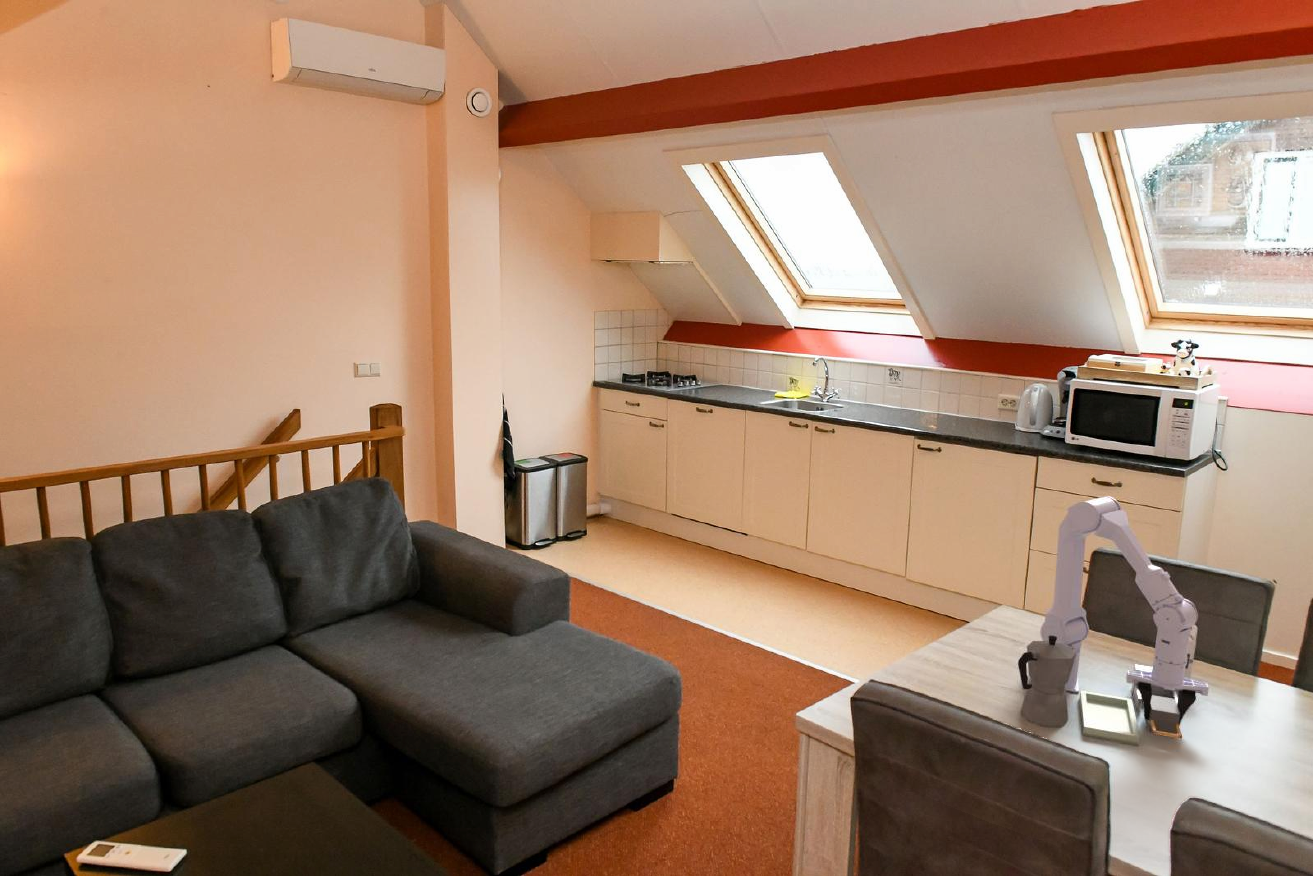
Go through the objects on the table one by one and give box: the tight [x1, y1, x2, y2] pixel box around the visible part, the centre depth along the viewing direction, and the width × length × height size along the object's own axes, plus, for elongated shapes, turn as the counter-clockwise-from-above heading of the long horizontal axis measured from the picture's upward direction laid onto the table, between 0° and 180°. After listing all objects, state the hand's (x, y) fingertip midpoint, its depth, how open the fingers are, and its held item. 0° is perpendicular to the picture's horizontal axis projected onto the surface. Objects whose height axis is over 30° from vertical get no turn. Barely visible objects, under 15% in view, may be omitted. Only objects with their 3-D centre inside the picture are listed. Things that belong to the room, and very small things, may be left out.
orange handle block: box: [1145, 695, 1183, 740], centre depth 188 cm, size 5×12×5 cm, turn 158°
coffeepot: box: [1017, 636, 1076, 728], centre depth 192 cm, size 15×9×18 cm, turn 116°
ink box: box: [1184, 623, 1199, 679], centre depth 211 cm, size 9×5×15 cm, turn 168°
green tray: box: [1078, 689, 1141, 747], centre depth 193 cm, size 10×17×2 cm, turn 158°
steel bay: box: [1131, 663, 1178, 713], centre depth 200 cm, size 8×11×6 cm
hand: (1161, 720), depth 191 cm, fingers closed on orange handle block, 5 cm apart
